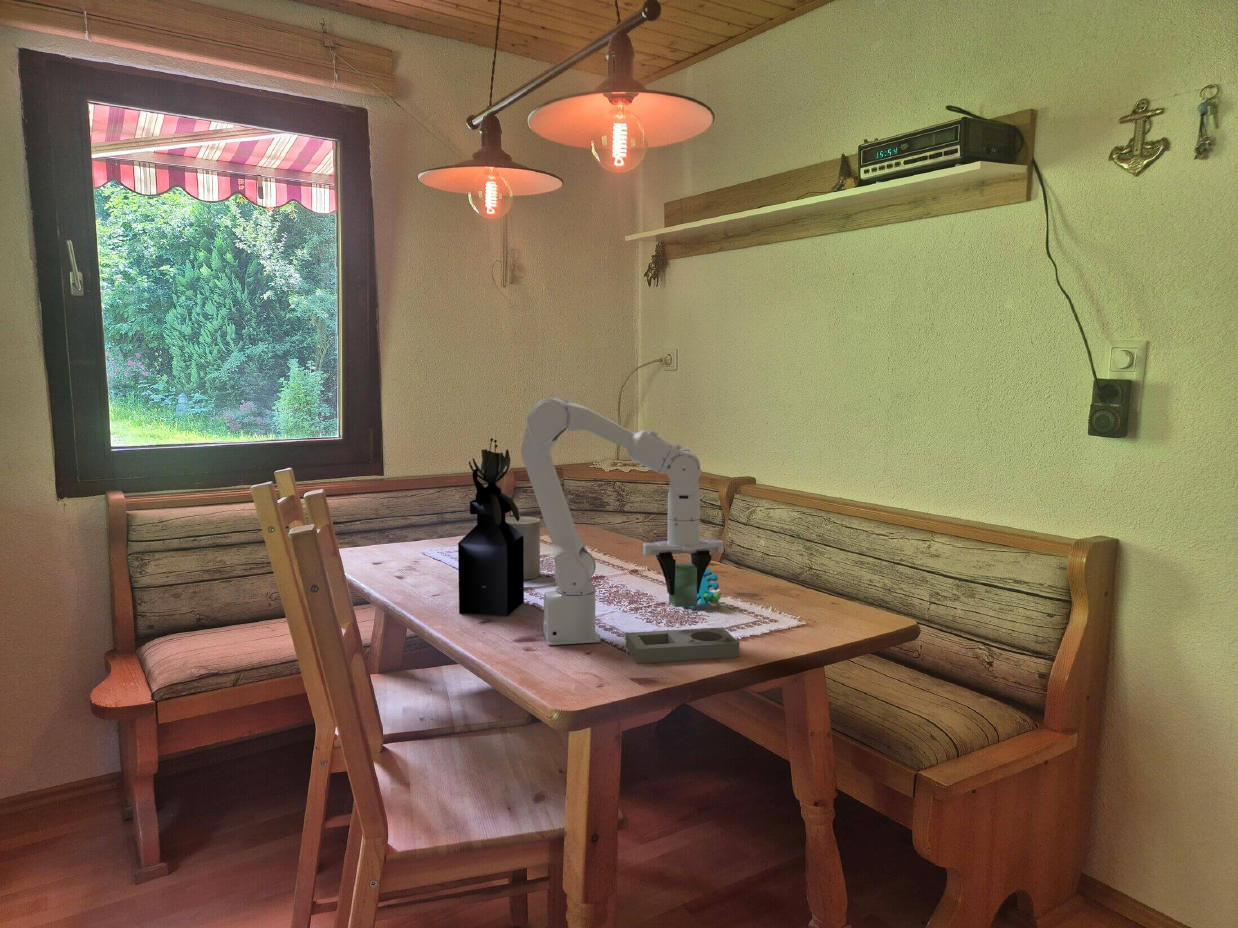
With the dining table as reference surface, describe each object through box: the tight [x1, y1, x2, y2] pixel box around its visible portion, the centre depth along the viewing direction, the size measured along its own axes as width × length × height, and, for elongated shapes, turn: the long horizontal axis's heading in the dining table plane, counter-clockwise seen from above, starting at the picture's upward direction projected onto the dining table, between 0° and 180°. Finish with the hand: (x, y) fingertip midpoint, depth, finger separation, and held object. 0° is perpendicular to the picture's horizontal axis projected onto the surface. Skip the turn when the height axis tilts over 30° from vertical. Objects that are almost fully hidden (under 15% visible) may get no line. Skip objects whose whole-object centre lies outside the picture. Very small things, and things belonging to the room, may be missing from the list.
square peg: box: [668, 562, 698, 608], centre depth 149 cm, size 4×4×7 cm
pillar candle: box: [505, 513, 541, 581], centre depth 198 cm, size 10×10×15 cm
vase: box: [457, 438, 525, 618], centre depth 168 cm, size 14×12×35 cm
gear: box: [682, 567, 722, 610], centre depth 174 cm, size 11×6×10 cm
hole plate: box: [625, 626, 740, 665], centre depth 144 cm, size 18×9×2 cm, turn 102°
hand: (683, 592), depth 149 cm, fingers closed on square peg, 4 cm apart
